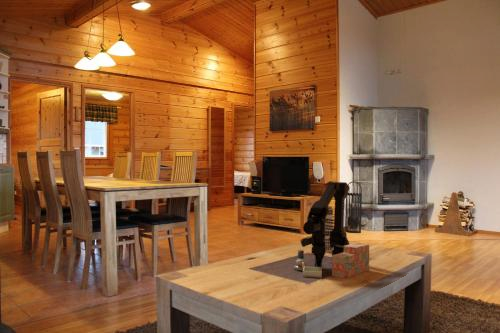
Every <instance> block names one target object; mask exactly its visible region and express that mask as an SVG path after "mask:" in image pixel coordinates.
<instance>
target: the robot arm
mask: <svg viewBox="0 0 500 333" xmlns="http://www.w3.org/2000/svg"><path fill="white" fill-rule="evenodd" d="M349 192H350V185H349V184H348V183H347V182H343V181H340V182H339V181H328V183H327V184H326V188H325V189H324V191H323V193H322V194H321V197H319V199H318V200H317V201H314V203H313V204H312V205H311V207H310V210H309V212H308V215H307V218H306V219H307V221H305V222H304V224H303V226H302V230H303V232H304V233H305V234H306V235H310V236H306V237H303V238H300V244H301V246H302V248H305V247H307V246H310V245H311V254H313V255H314V259H315V258H316V263H317V267H319V266H320V264H321V262H322V263H323V259H324V257H325V255H326V252H325V221H327V219H326V216H327V214H328V211H329V208H328V206H330V204H331V202H332V200H333V198H334V211H333V216H334V217H333V219H334V221H333V222H334V224H333V226H334V227H333V230H332V231H330V237H329V241H330V247H333V250H332V252H331V259H333V255H336V254H339V253H344V246H345V245H349V244H350V242H349V239H348V237H347V232H346V230H345V229H344V227H345V226H344V223H345V200H346V198H347V197H348V195H349Z"/></svg>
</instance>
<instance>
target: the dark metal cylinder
mask: <svg viewBox="0 0 500 333" xmlns="http://www.w3.org/2000/svg"><path fill="white" fill-rule="evenodd" d="M313 267H317V263H316V258H315V257H314V266H313ZM319 267H322V268H323V261H322V262H321V264H320V266H319Z"/></svg>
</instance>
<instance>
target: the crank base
mask: <svg viewBox="0 0 500 333" xmlns="http://www.w3.org/2000/svg"><path fill="white" fill-rule="evenodd" d="M304 266H307V262H306V261H303V262H302V266H296V264H294V265H293V267H292V268H293V271H295V272H303V267H304Z"/></svg>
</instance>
